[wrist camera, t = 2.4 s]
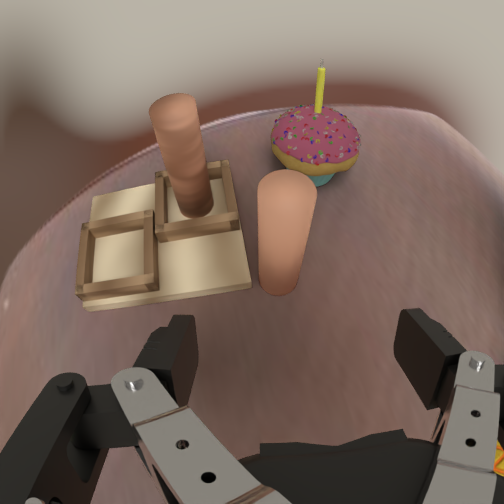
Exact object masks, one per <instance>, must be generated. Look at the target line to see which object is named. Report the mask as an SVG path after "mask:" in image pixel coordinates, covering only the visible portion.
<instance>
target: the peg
mask: <svg viewBox="0 0 504 504" xmlns="http://www.w3.org/2000/svg"><path fill="white" fill-rule="evenodd" d="M257 193H258V255H259V282H260V285H261V287H262V288H263V289H264V290H265V291H266V292H267V293H269V294H271V295H275V296H282V295H286V294H288V293H290V292H291V291H292V290H293V289H294V288H295V286H296V284H297V281H298V277H299V273H300V269H301V264H302V260H303V256H304V252H305V247H306V243H307V239H308V234H309V230H310V226H311V221H312V217H313V212H314V208H315V203H316V198H317V189H316V186H315V184H314V183H313V181H312V180H311V179H310V178H309V177H307V176H306V175H304V174H303V173H300V172H298V171H294V170H288V169H283V170H277V171H273V172H271V173H269V174H267V175H266V176H265V177H263V178H262V180H261V181H260V183H259V185H258V191H257Z"/></svg>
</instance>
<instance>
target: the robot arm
mask: <svg viewBox="0 0 504 504" xmlns="http://www.w3.org/2000/svg"><path fill="white" fill-rule="evenodd" d="M394 355H395V358H396V360H397V362H398V363H399V365H400V366H401V368H402V370H403V371H404V373H405V374H406V376H407V378H408V379H409V381H410V382H411V384H412V386H413V387H414V389H415V391H416V392H417V394H418V396H419V397H420V399H421V401H422V402H423V404H424V406H425V407H426V409H427V410H430V409H434V408H438V407H440V409H441V410H440V412H439V414H438V417H437V420H436V423H435V426H434V429H433V432H432V435H431V438H430V441H426V440H421V439H413V438H407V437H406V435H405V433H404V431H403V429H399V430H394V431H389V432H383V433H377V434H371V435H368V436H365V437H363V438H360V439H357V440H354V441H351V442H348V443H345V444H342V445H339V446H328V445H317V444H308V443H300V442H292V443H260V454H256V455H252V456H248V457H245V458H242V459H240V460H236V459H235V458H234V457H233V455H232V454H231V453H230V452H229V451H228V450H227V449H226V448H225V447H224V446H223V445H222V444H221V443H220V442H219V441H218V439H217V438H216V437H215V436H214V435H213V434H212V433H211V432H210V431H209V429H208V428H207V427H206V426H205V425H204V424H203V423H202V422H201V420H200V419H199V418H198V417H197V416H196V415H195V413H194V412H193V411H192V410H191V409H190V408H189V407H188V406H187V404H188V400H189V396H190V393H191V389H192V385H193V381H194V378H195V374H196V370H197V366H198V344H197V335H196V325H195V318H194V316H193V315H173V317H172V319H171V321H170V323H169V325H168V327H160V328H158V329H157V330H155V331H154V332H153V333H151V335H150V337H149V338H148V340H147V343H146V344H145V345H144V349H142V351H141V353H140V354H139V356H138V358H137V360H136V362H135V363H134V365H133V367H132V368H128V369H124V370H122V371H120V372H118V373H117V374H116V375H114V377H113V378H112V380H111V384H106V385H95V386H87V383H86V380H85V378H84V377H83V376H82V375H80V374H77V373H63V374H60V375H57V376H55V377H53V378H52V379H51V380H50V381H49V382H48V383H47V384H46V386H45V387H44V389H43V390H42V391H41V393H40V394H39V396H38V397H37V398H36V400H35V401H34V403H33V404H32V406H31V407H30V409H29V410H28V411H27V413H26V414H25V416H24V417H23V419H22V420H21V422H20V423H19V425H18V426H17V428H16V429H15V431H14V433H13V434H12V436H11V437H10V439H9V440H8V442H7V443H6V445H5V447H4V448H3V450H2V451H1V453H0V504H90V503H91V500H92V497H93V494H94V491H95V488H96V485H97V482H98V479H99V476H100V473H101V470H102V467H103V465H104V462H105V459H106V456H107V453H108V451H109V448H118V447H130V446H133V448H134V450H135V451H136V453H137V455H138V457H139V459H140V460H141V462H142V464H143V466H144V467H145V469H146V471H147V473H148V474H149V476H150V478H151V479H152V481H153V482H154V484H155V486H156V488H157V489H158V491H159V493H160V495H161V497H162V498H163V500H164V502H165V503H166V504H504V476H501V475H499V474H497V473H495V472H494V470H493V469H494V461H495V454H496V446H497V440H498V442H499V444H500V445H501V447H502V449H503V450H504V365H495V364H494V361H493V360H492V358H491V357H489V356H488V355H487V354H484V353H482V352H479V351H467V350H466V349H465V348H464V347H463V346H462V345H461V344H460V343H459V342H458V341H457V340H456V339H455V338H454V337H452V335H451V334H450V333H449V332H447V330H446V329H445V328H444V327H443V326H442V325H441V324H440V323H438V322H436V321H434V320H432V319H430V318H429V317H428V316H427V315H426V314H425V313H424V312H423V311H422V310H421V309H420V308H415V309H403V310H402V311H401V312H400V315H399V321H398V326H397V331H396V336H395V341H394Z"/></svg>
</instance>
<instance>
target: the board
mask: <svg viewBox="0 0 504 504" xmlns="http://www.w3.org/2000/svg"><path fill="white" fill-rule="evenodd" d="M149 115H150V118H151V121H152V125H153V128H154V131H155V135H156V138H157V141H158V144H159V148H160V151H161V154H162V157H163V160H164V164H165V167H166V170H165V171H160V172H155V183H154V184H149V185H144V186H140V187H135V188H130V189H126V190H121V191H117V192H112V193H108V194H103V195H99V196H95V197H93V202H92V208H91V215H90V222H87V223H82V228H81V236H80V244H79V253H78V263H77V274H76V288H75V295H76V296H78V297H79V298H80V299H81V300H83V308H84V309H86V310H87V311H88V312H93V311H101V310H108V309H116V308H123V307H131V306H138V305H145V304H152V303H159V302H166V301H173V300H179V299H186V298H192V297H199V296H205V295H212V294H218V293H224V292H230V291H236V290H242V289H248V288H252V284H251V277H250V272H249V267H248V262H247V256H246V251H245V246H244V241H243V235H242V230H241V225H240V219H239V214H238V209H237V203H236V198H235V193H234V187H233V182H232V177H231V171H230V167H229V161H228V160H222V161H215V162H209V163H206V158H205V152H204V147H203V141H202V135H201V130H200V124H199V118H198V113H197V107H196V101H195V99H194V97H192V96H191V95H188V94H183V93H176V94H170V95H167V96H164V97H162V98H160V99H158V100H157V101H155V102H154V103H153V104H152V105H151V107H150V109H149Z"/></svg>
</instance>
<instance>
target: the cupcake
mask: <svg viewBox="0 0 504 504" xmlns="http://www.w3.org/2000/svg"><path fill="white" fill-rule="evenodd" d="M324 80H325V68H323V59H321V67H319V68H318V74H317V87H316V98H315V104H312V105H310V106H309V105H304V106H302V105H300V106H298V107H295V108H294V107H293V108H291V109H290V110H288V111H287V112H285V113H284V114H283V115H282V116H281V115H280V117H279V119H278V120H277V119H276V120H275V124H274V128H273V129H272V133H271V143H272V151H273V153H274V154H275V156H276V157H277V158H278V159H279V160H280V161H281V162H282V164H283V165H284V166H285V167H286V168H287V169H288V170H294V171H298V172H300V173H303V174H304V175H306V176H307V177H309V178H310V179H311V180H312V181H313V183H314V184H315V186H316V187H317V186H321V185H324V184H326V183H327V182H328V181H329V180H330V179H331V178H332V177H333V175H334V174H335V173H336V172H339V171H347V170H348V169H349V168H351V167H352V166H353V165H354V163H355V162H356V160H357V158H358V155H359V149H360V146H361V144H360V137H361V135H360V134H358V132H357V130H356V128H355V127H354V126H353V125H354V124H353V123H352V122H351V121H349V119H347V117H346V116H345V115H344V116H343V115H342V114H340V113H339V112H338V111H335V110H333V109H332V108H328V107H324V106H322V101H323V91H324ZM359 135H360V137H359Z"/></svg>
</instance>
